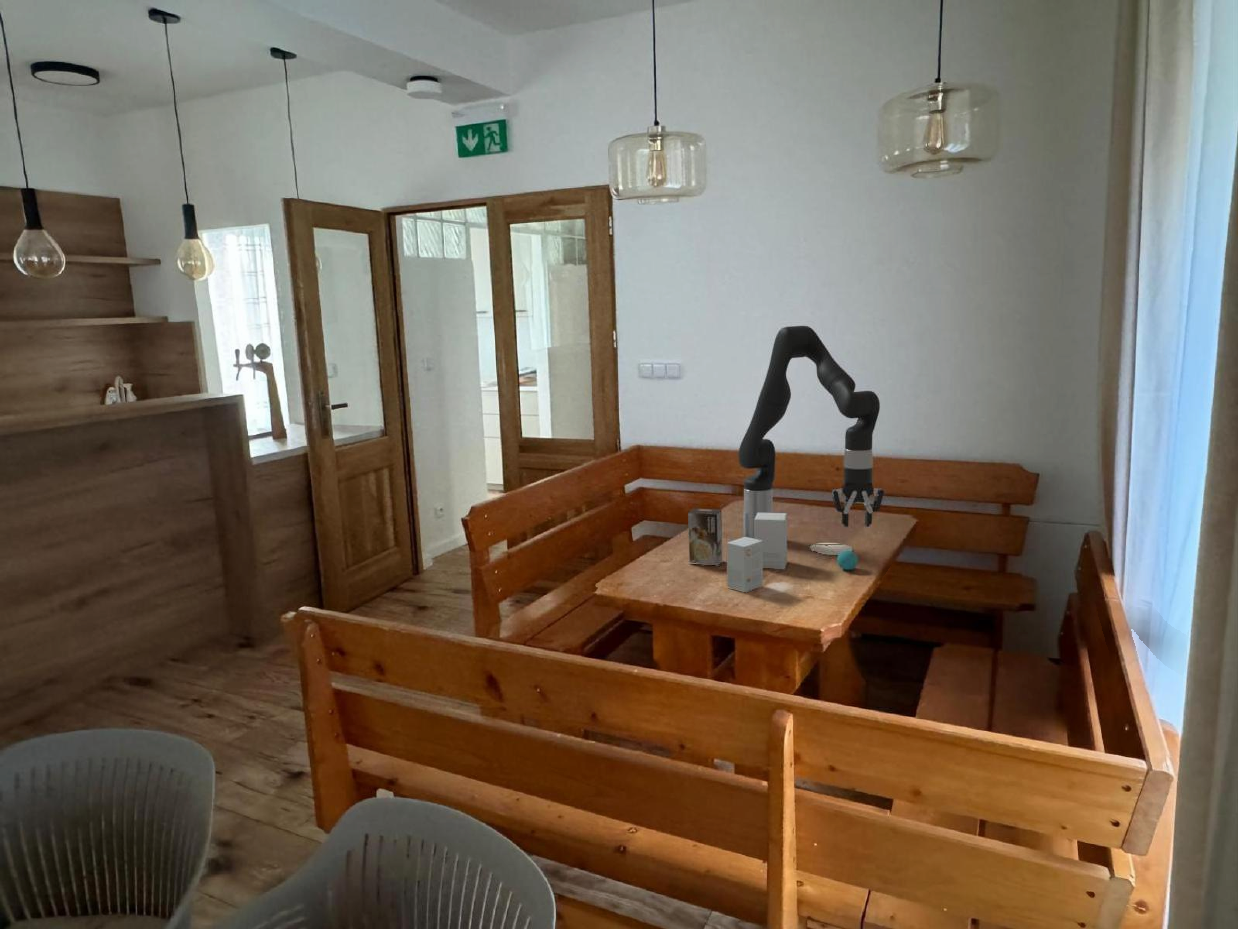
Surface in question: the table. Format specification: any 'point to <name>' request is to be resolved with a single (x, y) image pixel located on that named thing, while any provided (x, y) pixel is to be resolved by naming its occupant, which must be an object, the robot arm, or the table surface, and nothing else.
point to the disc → (831, 548)
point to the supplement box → (772, 538)
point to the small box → (745, 564)
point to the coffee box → (705, 536)
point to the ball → (847, 560)
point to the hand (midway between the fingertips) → (856, 526)
